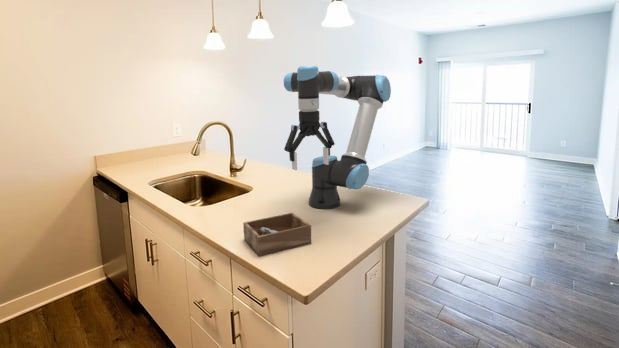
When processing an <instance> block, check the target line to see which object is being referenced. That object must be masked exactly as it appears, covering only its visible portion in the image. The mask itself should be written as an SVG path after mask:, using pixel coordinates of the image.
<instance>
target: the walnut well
mask: <svg viewBox="0 0 619 348" xmlns="http://www.w3.org/2000/svg"><path fill="white" fill-rule="evenodd" d="M262 227H264V228H268V229H270V230H275V231H278V232H275V233H270V234H266V235H262V232H261V230H260V229H261V228H262ZM243 238H244V239H243V240H244V242H245V243H246V244H247V245H248V246H249V247H250V249H251V250H253V252H254V253H255V254H256V255H257V256H258V257H259V258H260V257H265V256H267V255H272V254H276V253H279V252H284V251H287V250H292V249H296V248H299V247H303V246H306V245H310V244H312V225H311V224H309V223H308V222H306V221H305V220H304V219H303V218H301V217H299V216H298V215H297V214H295V213H293V212H289V213H284V214H279V215H274V216H268V217H265V218H260V219H255V220H249V221H244V222H243Z"/></svg>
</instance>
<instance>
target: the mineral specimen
mask: <svg viewBox="0 0 619 348" xmlns="http://www.w3.org/2000/svg"><path fill="white" fill-rule="evenodd" d="M260 230H261V232H262V235H266V234H270V233H275V232H278V231H275V230H270V229H268V228H264V227H262V228H261V229H260Z"/></svg>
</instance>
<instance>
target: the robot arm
mask: <svg viewBox="0 0 619 348" xmlns="http://www.w3.org/2000/svg"><path fill="white" fill-rule="evenodd" d="M283 87H284V88H285V90H286V91H287V92H290V93H297V94H298V95H297V96H298V97H297V101H298V103H297V104H298V110H299V111H298V122H299V124H298V125H295V124H291V128H290V129H291V130H290V133H289V135H288V137H287V140H286V143H285V146H284V148H283V150H284V151H286V152H288V154H289V162H291V169H292V170H294V171H298V159H297V152H296V151H297V149H298V147H299V146H300V144H301V143H302V141H303V140H304V139H305V138H306V137H311V136H316V138H318V139H319V142H321V143H322V145H323V147H322V155H321V156H318V157H314V158H313V159H312V163H311V164H312V166H311V179H312V182H311V183H312V185H311V186H312V187H311V188H312V189H311V192H310V195H309V198H308V205H309V206H310V207H312V208H314V209H321V210H326V209H327V210H328V209H335V208H337V207H340V205H341V197H340V194H339V192H338V188H337V187H341V188H345V189H346V188H347V189H348V190H360V189H362V188H363V187H364V186H365V185H366V184H367V181H368V179H369V175H370V168H369V166H368V165H367V163H368V162H367V160H366V158H365V157H366V154H367V150H368V147H369V143H370V140H371V136H372V133H373V132H372V131H373V128H374V124H375V121H376V118H377V114H378V110H379V109H381V108H383V105H384V103H386V102H388V101H389V100H390V98H391V93H392V87H391V82H390V79H389V78H388V77H387V76H386V75H383V74H382V75H380V74H376V75H353V76H338V74H337V73H336V72H334V71H330V70H324V71H323V70H322V71H319V67H318V66H317V65H302V66H299V67H297V71H296V72H294V71H293V72H288V73H286V74H285V75H284V77H283ZM320 94H321V95H332V96H333V95H334V96H335V97H337V98H340V99H347V100H351V101H357V103H358V105H359V106H358V110H357V113H356V116H355V121H354V124H353V127H352V131H351V133H350V138H349V141H348V145H347V148H346V152H345V153H343V154H342V155H341V157H340V160H339V159H338V156H337V155H331V149H332V148H333V147H332V146H335V141H334V139H333V136H332V135H331V132H330V131H329V129H328V124H327V123H328V122H326V121H321V122H320V111H319V109H320V99H319V98H320ZM320 128H321V131H322V132H323V135H322V132H321V131H320ZM298 131H299V132H298ZM297 133H298V134H297Z"/></svg>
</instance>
